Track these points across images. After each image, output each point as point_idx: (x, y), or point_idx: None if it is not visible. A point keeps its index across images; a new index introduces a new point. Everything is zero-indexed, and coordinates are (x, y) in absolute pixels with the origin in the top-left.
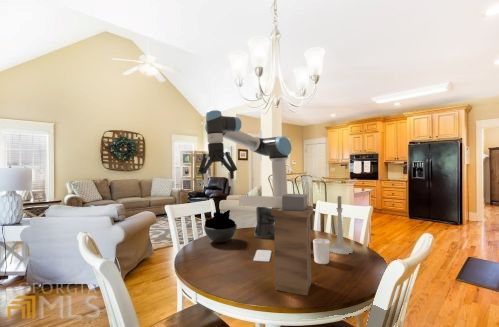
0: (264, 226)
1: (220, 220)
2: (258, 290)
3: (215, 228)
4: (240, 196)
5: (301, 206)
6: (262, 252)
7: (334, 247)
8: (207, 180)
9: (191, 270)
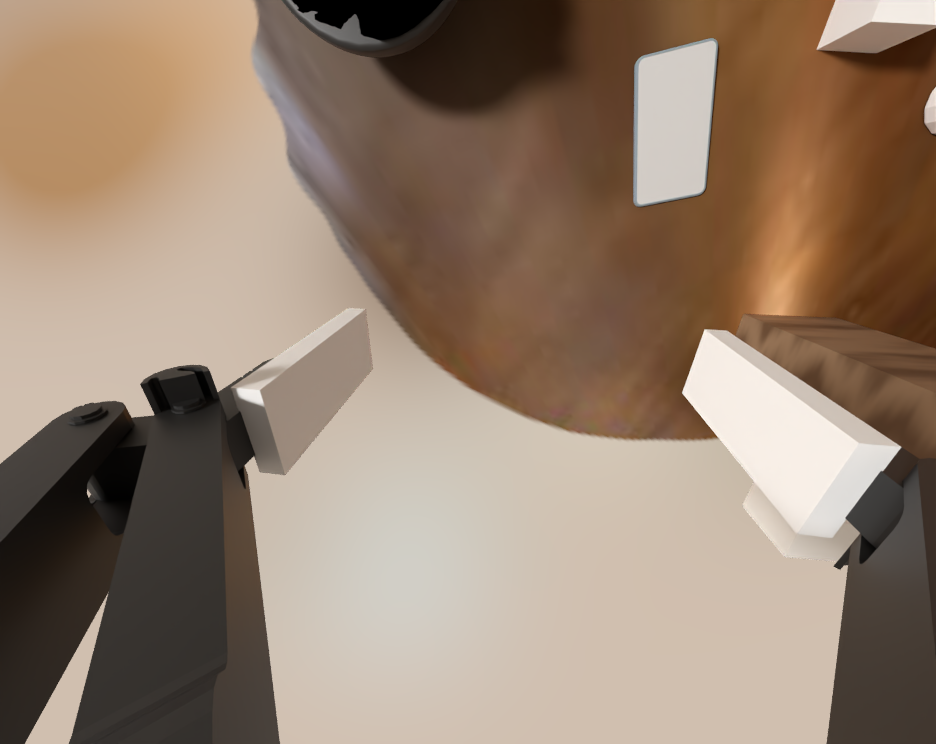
0: None
1: None
2: (675, 392)
3: (384, 38)
4: (794, 556)
5: None
6: (669, 91)
7: None
8: (335, 352)
9: (458, 343)
